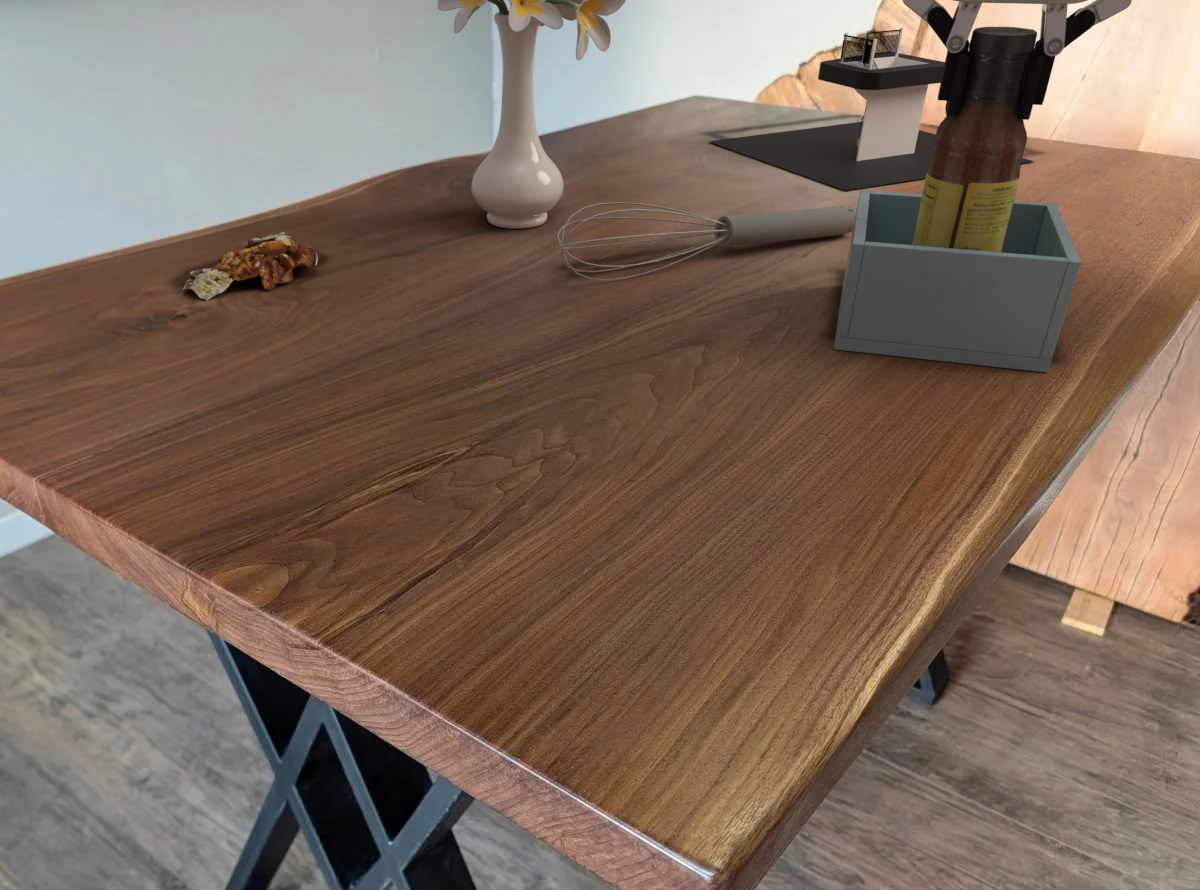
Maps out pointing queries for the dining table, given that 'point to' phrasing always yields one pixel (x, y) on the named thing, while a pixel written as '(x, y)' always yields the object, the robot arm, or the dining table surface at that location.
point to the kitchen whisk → (733, 230)
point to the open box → (956, 288)
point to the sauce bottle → (979, 148)
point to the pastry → (253, 265)
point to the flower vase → (526, 106)
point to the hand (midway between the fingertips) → (986, 111)
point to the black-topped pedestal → (873, 145)
